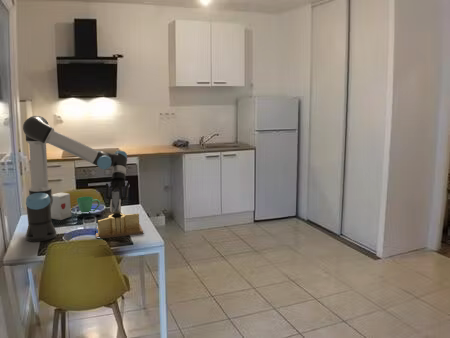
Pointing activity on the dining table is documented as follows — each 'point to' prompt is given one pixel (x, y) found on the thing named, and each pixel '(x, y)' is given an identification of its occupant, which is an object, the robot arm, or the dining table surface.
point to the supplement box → (61, 206)
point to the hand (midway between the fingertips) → (115, 210)
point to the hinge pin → (116, 203)
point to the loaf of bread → (119, 226)
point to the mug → (86, 203)
